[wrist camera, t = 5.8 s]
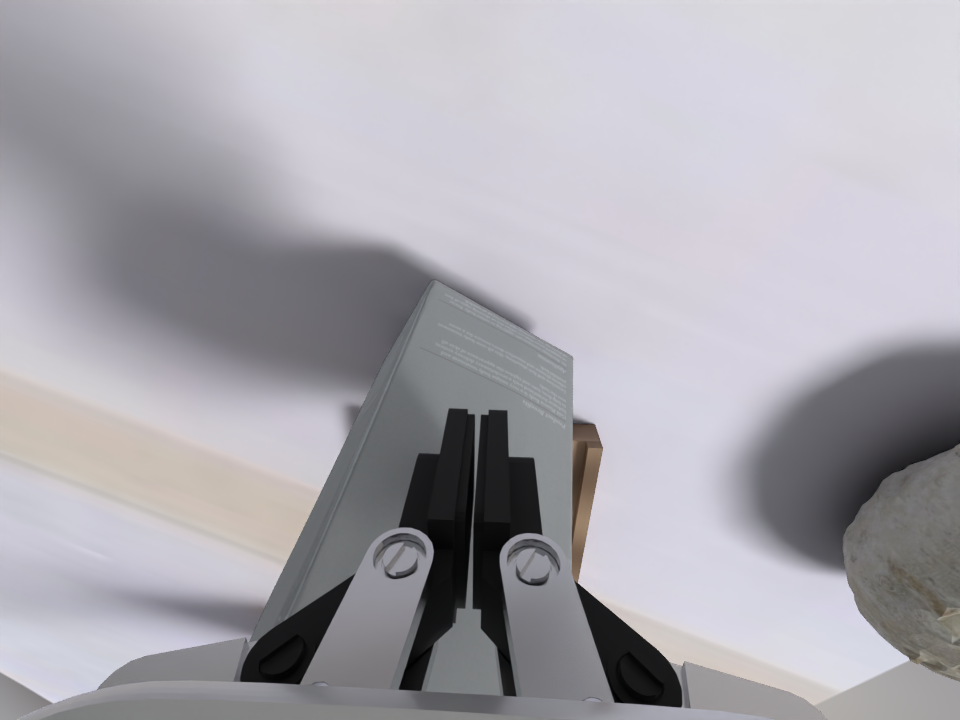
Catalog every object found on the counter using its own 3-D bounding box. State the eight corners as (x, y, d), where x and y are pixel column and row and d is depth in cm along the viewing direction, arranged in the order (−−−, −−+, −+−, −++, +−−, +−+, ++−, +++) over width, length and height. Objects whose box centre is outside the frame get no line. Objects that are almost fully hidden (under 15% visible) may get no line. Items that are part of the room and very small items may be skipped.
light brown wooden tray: (380, 417, 26) (370, 439, 24) (594, 424, 25) (602, 448, 23) (401, 591, 34) (395, 619, 32) (565, 599, 33) (569, 628, 31)
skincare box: (389, 350, 23) (196, 707, 12) (443, 259, 19) (203, 716, 8) (514, 418, 25) (443, 782, 14) (594, 352, 20) (578, 828, 9)
